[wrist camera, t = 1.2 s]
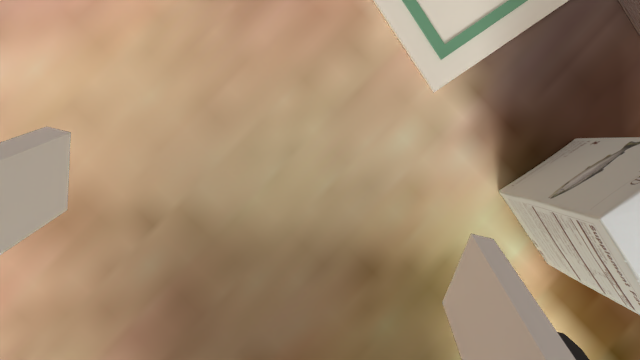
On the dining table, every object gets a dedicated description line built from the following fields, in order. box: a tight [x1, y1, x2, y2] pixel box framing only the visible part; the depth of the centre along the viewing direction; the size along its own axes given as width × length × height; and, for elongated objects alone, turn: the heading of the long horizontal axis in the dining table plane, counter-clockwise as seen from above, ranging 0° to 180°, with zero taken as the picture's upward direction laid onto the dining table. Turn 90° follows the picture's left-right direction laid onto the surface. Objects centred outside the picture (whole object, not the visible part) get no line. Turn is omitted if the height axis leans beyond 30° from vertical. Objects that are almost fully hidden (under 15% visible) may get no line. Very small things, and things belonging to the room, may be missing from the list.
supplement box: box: [499, 137, 640, 315], centre depth 27 cm, size 7×7×13 cm
